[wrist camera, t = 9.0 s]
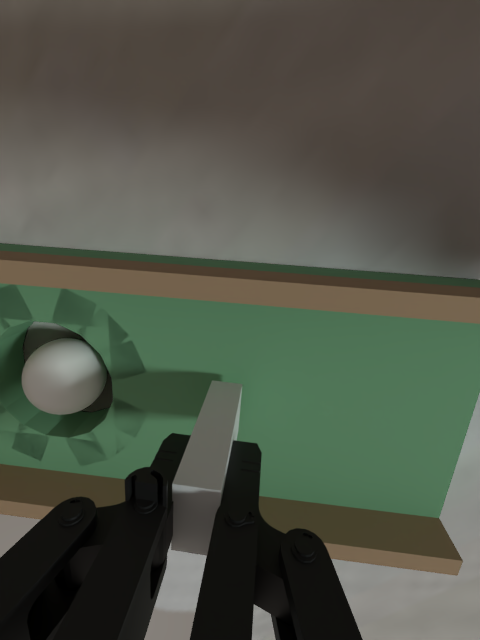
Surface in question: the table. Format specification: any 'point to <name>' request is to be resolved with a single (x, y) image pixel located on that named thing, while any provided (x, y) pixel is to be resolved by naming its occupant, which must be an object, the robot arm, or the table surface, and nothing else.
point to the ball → (64, 376)
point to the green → (254, 388)
